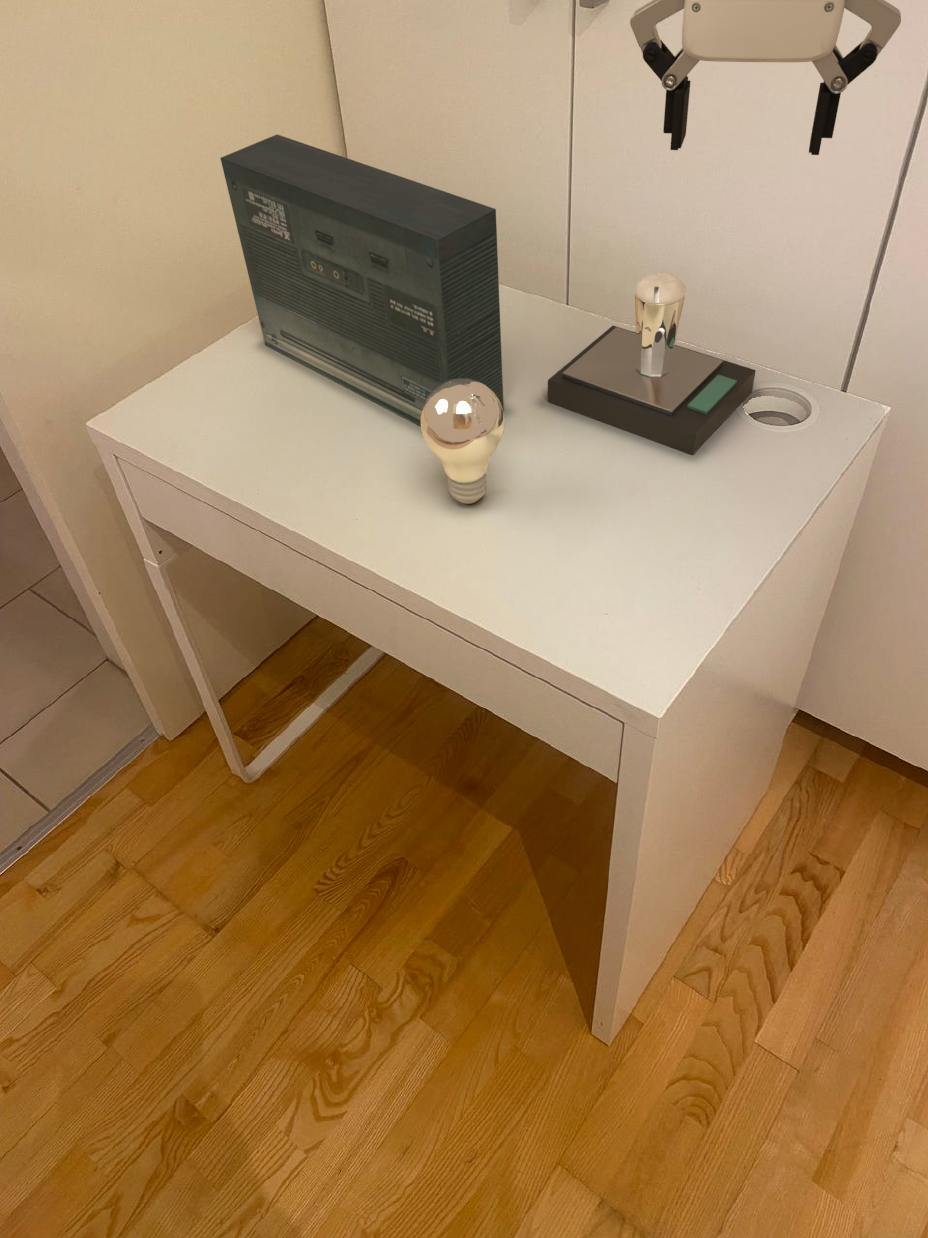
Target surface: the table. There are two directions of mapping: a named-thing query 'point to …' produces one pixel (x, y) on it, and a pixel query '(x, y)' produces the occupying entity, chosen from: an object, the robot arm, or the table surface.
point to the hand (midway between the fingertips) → (745, 145)
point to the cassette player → (367, 272)
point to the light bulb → (463, 433)
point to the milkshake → (657, 321)
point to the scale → (651, 391)
